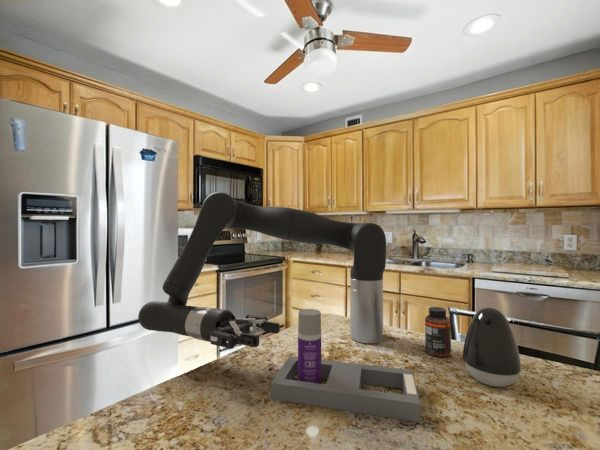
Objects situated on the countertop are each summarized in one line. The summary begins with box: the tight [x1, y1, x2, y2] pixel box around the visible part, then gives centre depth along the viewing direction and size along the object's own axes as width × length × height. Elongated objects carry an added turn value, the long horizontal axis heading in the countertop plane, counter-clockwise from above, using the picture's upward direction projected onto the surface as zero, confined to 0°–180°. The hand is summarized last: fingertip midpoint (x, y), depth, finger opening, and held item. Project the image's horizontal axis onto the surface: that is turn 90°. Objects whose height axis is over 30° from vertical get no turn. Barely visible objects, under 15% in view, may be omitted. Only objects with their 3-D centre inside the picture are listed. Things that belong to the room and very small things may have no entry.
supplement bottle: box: [424, 306, 452, 358], centre depth 76 cm, size 6×6×11 cm
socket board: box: [270, 355, 421, 423], centre depth 58 cm, size 12×26×3 cm, turn 75°
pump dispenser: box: [462, 306, 522, 388], centre depth 62 cm, size 10×10×15 cm
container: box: [297, 308, 322, 384], centre depth 60 cm, size 5×5×15 cm
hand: (269, 334), depth 64 cm, fingers open, 8 cm apart
